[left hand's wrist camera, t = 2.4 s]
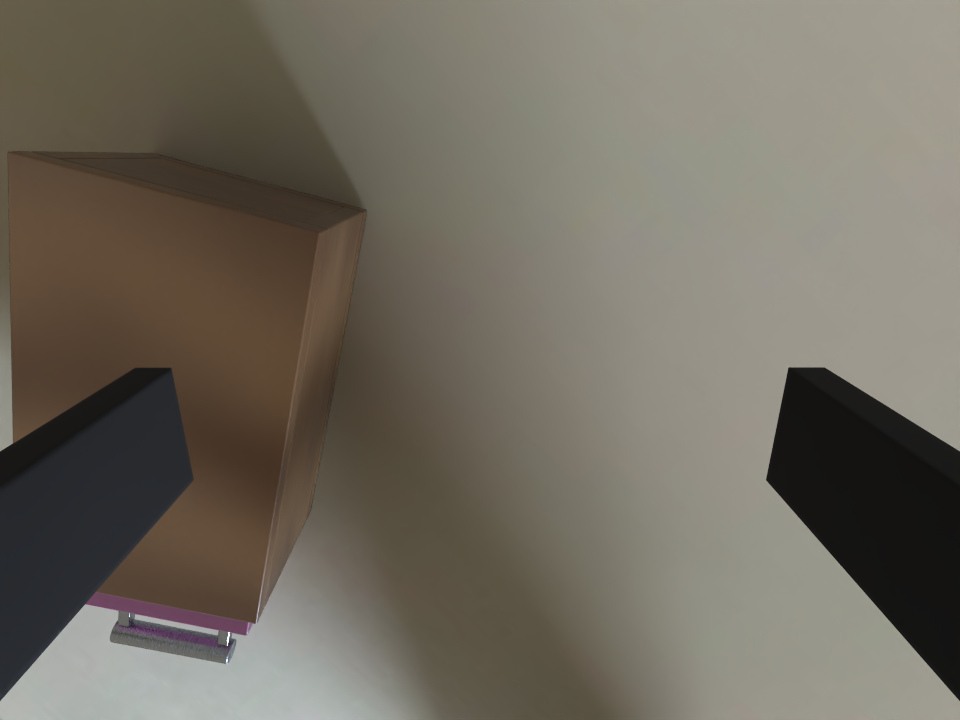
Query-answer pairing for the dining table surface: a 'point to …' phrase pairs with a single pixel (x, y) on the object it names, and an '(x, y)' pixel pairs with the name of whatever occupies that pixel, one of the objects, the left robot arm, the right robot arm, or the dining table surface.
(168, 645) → the drawer
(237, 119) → the dining table surface
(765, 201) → the dining table surface
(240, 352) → the cabinet
